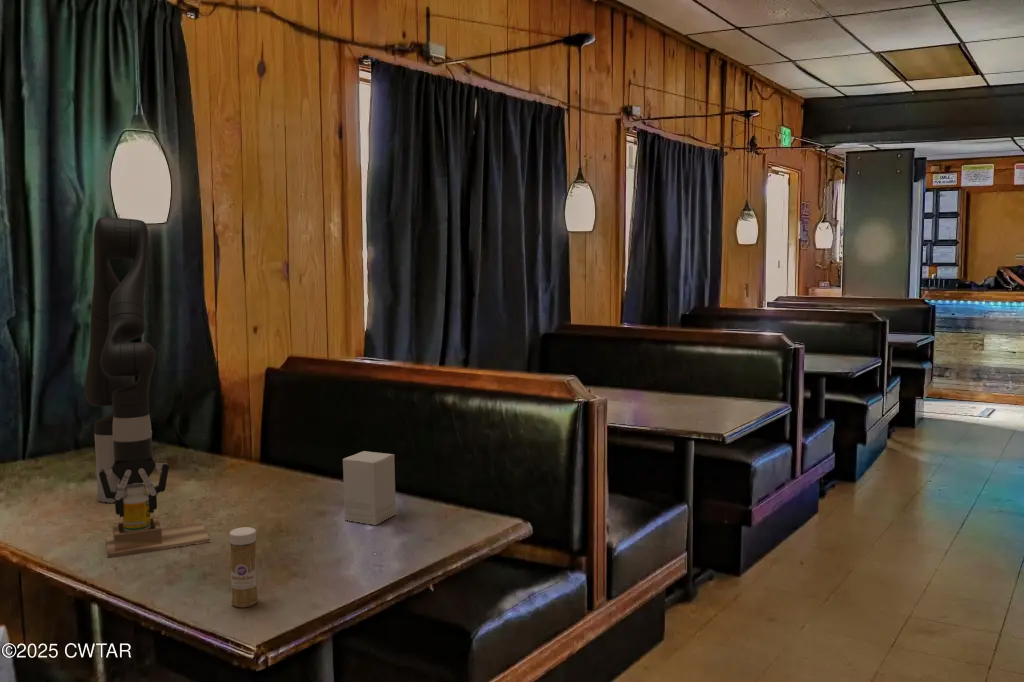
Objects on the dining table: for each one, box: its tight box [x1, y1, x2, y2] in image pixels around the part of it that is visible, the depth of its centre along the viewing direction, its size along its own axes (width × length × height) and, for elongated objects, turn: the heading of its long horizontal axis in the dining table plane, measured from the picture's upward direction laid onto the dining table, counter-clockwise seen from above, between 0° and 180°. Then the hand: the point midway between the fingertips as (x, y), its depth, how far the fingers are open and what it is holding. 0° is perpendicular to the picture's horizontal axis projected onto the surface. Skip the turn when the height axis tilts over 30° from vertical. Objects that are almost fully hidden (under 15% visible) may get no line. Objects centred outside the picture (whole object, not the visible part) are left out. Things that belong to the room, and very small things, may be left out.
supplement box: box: [342, 450, 397, 526], centre depth 199 cm, size 9×9×15 cm
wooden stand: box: [105, 516, 211, 559], centre depth 184 cm, size 12×20×4 cm, turn 117°
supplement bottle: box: [122, 483, 151, 532], centre depth 182 cm, size 5×5×10 cm
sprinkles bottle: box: [228, 526, 259, 608], centre depth 152 cm, size 5×5×14 cm
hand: (136, 513), depth 182 cm, fingers closed on supplement bottle, 5 cm apart
